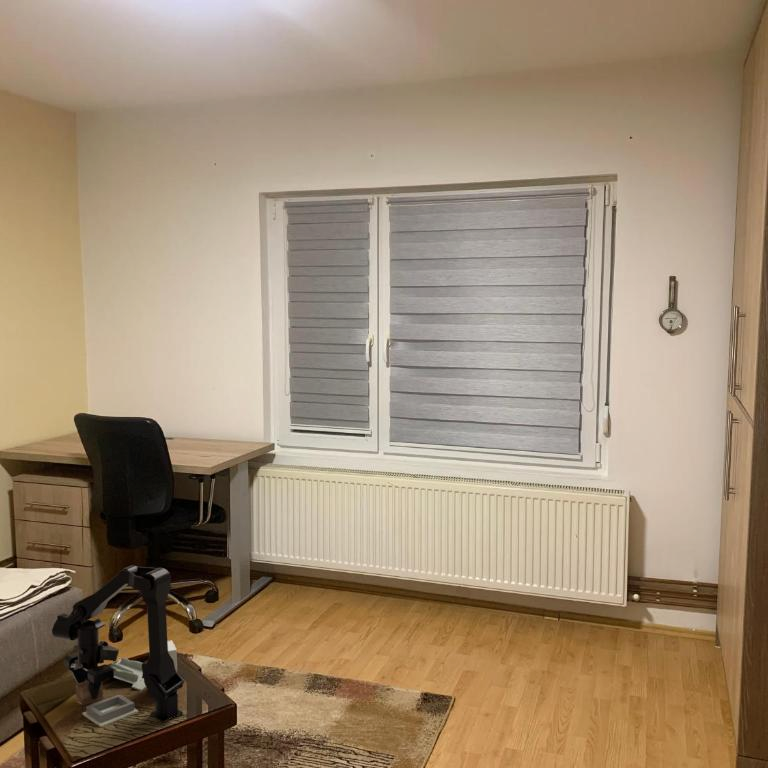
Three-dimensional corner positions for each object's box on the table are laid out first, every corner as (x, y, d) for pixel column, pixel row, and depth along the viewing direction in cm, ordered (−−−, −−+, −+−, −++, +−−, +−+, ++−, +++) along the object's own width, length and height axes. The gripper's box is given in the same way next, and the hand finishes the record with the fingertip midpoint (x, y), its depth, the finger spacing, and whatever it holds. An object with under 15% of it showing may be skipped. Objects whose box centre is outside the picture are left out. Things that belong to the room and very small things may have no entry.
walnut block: (102, 698, 223) (102, 681, 223) (82, 706, 219) (82, 688, 218) (95, 694, 226) (95, 677, 226) (75, 701, 221) (75, 684, 221)
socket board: (138, 712, 215) (138, 703, 215) (100, 726, 207) (100, 717, 207) (119, 700, 222) (119, 692, 221) (82, 714, 213) (82, 705, 213)
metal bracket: (100, 670, 229) (122, 649, 244) (95, 688, 230) (117, 667, 245) (146, 685, 228) (165, 664, 243) (141, 703, 229) (160, 681, 244)
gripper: (131, 642, 221) (132, 696, 222) (98, 626, 233) (99, 677, 234) (93, 654, 213) (95, 710, 214) (62, 636, 225) (63, 689, 226)
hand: (89, 695), depth 222 cm, fingers open, 6 cm apart
